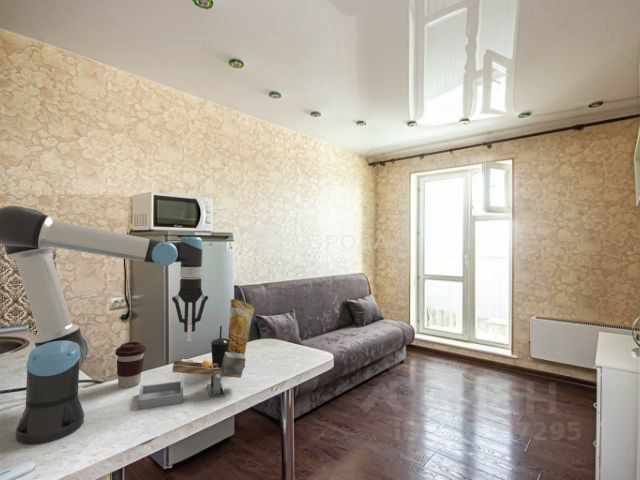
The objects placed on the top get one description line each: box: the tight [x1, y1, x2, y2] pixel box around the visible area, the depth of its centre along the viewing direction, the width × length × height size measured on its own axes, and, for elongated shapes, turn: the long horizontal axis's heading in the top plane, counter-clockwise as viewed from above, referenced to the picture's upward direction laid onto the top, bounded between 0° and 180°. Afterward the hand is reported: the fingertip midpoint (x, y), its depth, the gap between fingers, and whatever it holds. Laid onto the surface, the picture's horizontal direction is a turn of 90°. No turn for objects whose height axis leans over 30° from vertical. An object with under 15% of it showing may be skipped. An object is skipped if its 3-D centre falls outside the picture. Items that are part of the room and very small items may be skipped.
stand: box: [206, 363, 225, 399], centre depth 122 cm, size 5×10×9 cm, turn 24°
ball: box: [201, 359, 212, 368], centre depth 120 cm, size 3×3×3 cm
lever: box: [172, 352, 247, 379], centre depth 124 cm, size 24×11×7 cm, turn 114°
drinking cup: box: [210, 325, 230, 368], centre depth 137 cm, size 8×8×20 cm
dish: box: [136, 380, 184, 410], centre depth 115 cm, size 14×12×3 cm
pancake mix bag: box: [227, 298, 256, 370], centre depth 150 cm, size 7×19×28 cm, turn 40°
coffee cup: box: [115, 341, 147, 388], centre depth 125 cm, size 10×10×15 cm
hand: (189, 340), depth 124 cm, fingers closed
